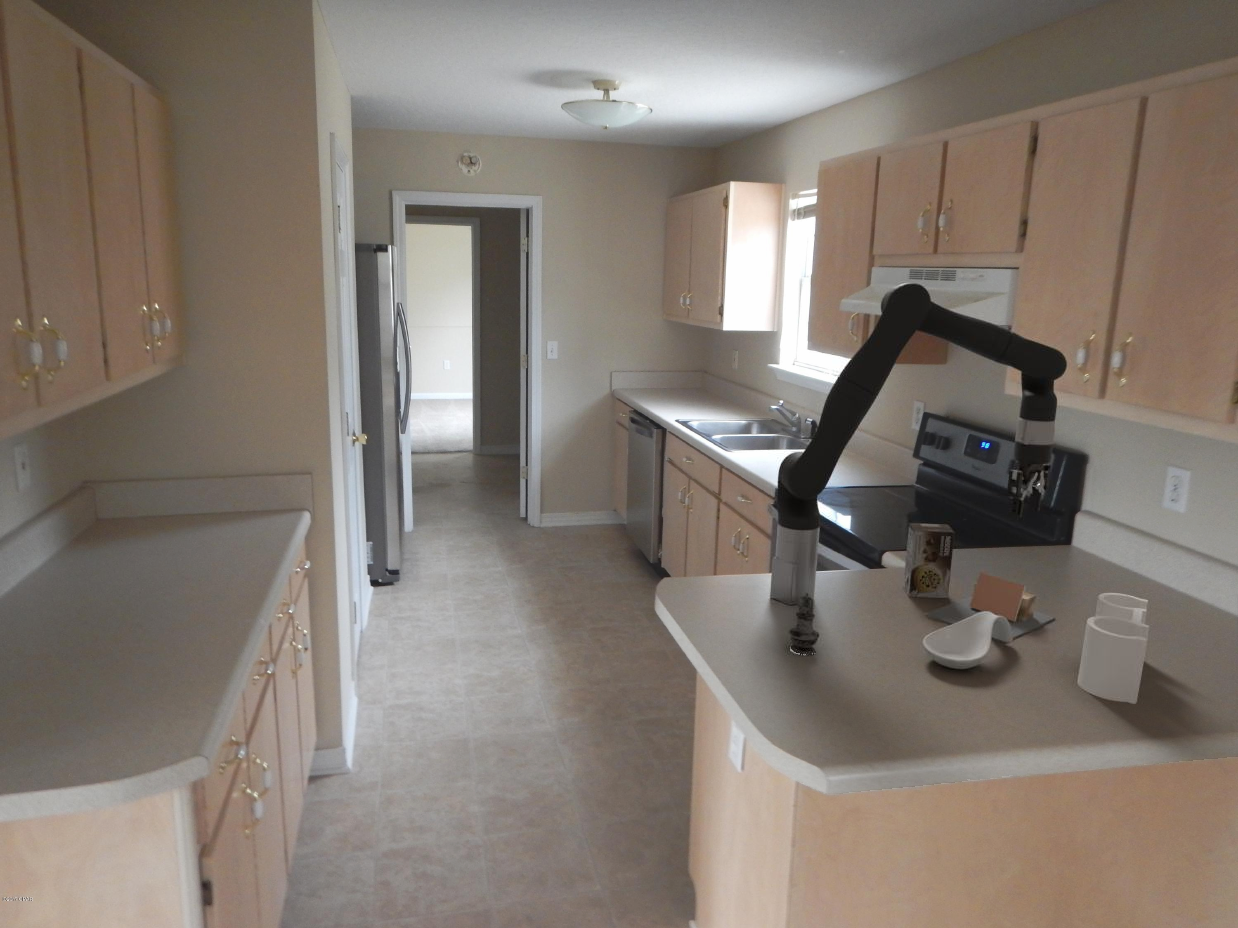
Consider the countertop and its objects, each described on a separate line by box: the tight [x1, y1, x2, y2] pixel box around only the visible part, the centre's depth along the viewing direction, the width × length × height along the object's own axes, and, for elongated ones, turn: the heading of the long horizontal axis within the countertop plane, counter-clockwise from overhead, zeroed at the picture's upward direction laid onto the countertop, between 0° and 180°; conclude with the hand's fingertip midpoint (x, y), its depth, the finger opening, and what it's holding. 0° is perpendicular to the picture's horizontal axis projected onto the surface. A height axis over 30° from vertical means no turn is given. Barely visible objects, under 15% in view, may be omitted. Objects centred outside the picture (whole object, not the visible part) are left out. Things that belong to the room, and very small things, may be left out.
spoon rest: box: [922, 611, 1013, 670], centre depth 173 cm, size 24×12×7 cm, turn 130°
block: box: [973, 582, 1037, 621], centre depth 196 cm, size 4×12×5 cm, turn 39°
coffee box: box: [902, 522, 955, 599], centre depth 206 cm, size 9×6×16 cm
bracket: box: [1077, 592, 1150, 705], centre depth 167 cm, size 25×10×12 cm, turn 148°
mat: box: [924, 595, 1056, 644], centre depth 194 cm, size 22×18×1 cm
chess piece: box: [788, 593, 820, 656], centre depth 173 cm, size 6×6×12 cm
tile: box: [969, 572, 1027, 622], centre depth 194 cm, size 4×10×8 cm, turn 39°
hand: (1025, 513), depth 195 cm, fingers open, 7 cm apart
